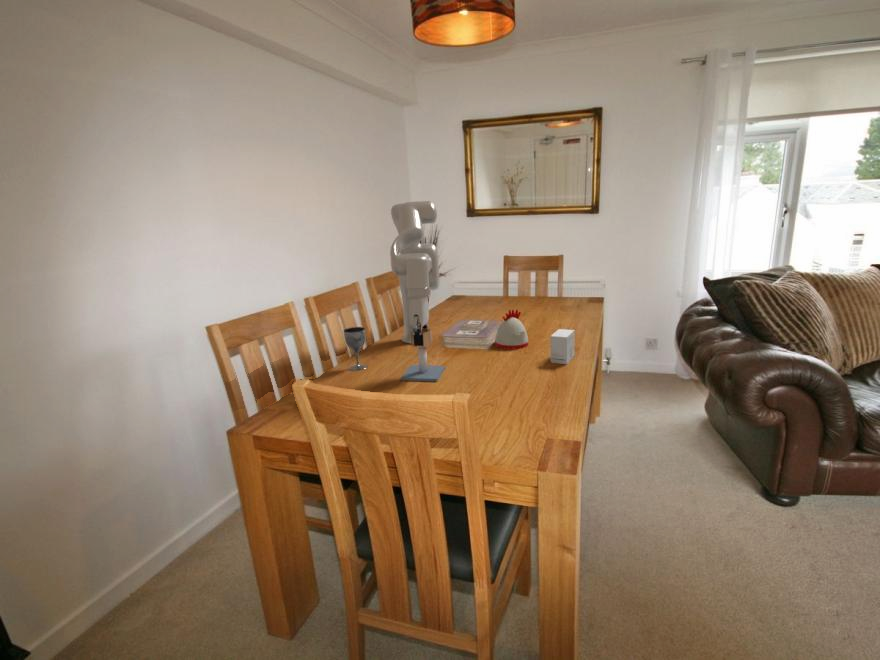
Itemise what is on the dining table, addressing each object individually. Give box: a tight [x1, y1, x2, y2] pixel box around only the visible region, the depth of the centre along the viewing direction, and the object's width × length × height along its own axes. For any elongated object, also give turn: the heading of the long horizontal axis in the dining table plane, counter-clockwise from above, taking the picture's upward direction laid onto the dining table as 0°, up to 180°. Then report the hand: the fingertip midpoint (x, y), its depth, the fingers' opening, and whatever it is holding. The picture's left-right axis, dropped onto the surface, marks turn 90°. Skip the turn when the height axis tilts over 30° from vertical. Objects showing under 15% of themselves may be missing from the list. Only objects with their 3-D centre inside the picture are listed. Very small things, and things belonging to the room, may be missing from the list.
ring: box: [410, 327, 433, 348], centre depth 162 cm, size 7×7×5 cm
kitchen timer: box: [494, 308, 529, 350], centre depth 194 cm, size 14×14×15 cm
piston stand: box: [400, 347, 446, 382], centre depth 165 cm, size 13×13×10 cm
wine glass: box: [343, 326, 368, 372], centre depth 175 cm, size 8×8×15 cm
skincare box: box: [550, 328, 576, 365], centre depth 173 cm, size 10×6×10 cm, turn 149°
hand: (421, 342), depth 163 cm, fingers closed on ring, 7 cm apart
